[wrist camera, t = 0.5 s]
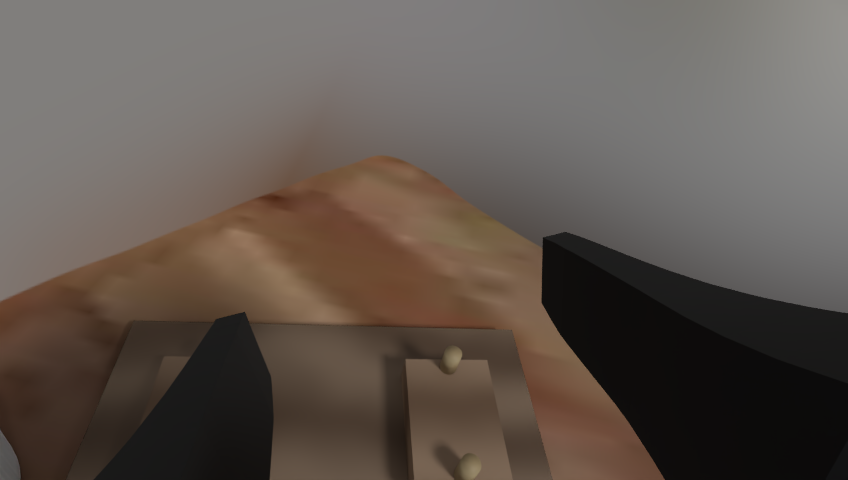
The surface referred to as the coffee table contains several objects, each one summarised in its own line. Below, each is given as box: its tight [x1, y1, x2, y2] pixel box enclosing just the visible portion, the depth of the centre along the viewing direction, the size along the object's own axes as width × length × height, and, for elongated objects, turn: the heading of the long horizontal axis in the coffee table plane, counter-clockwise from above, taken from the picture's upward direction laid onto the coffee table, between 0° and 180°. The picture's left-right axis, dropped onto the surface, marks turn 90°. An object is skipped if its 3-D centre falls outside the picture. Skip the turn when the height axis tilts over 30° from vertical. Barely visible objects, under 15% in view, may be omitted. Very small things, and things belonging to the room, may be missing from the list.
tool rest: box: [66, 321, 553, 480], centre depth 24 cm, size 14×24×4 cm, turn 95°
